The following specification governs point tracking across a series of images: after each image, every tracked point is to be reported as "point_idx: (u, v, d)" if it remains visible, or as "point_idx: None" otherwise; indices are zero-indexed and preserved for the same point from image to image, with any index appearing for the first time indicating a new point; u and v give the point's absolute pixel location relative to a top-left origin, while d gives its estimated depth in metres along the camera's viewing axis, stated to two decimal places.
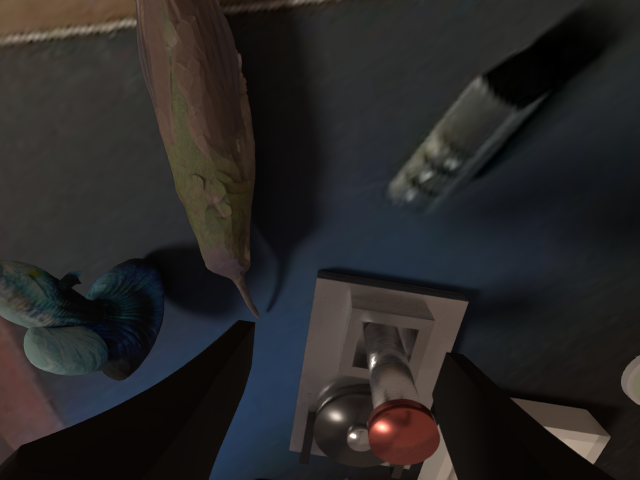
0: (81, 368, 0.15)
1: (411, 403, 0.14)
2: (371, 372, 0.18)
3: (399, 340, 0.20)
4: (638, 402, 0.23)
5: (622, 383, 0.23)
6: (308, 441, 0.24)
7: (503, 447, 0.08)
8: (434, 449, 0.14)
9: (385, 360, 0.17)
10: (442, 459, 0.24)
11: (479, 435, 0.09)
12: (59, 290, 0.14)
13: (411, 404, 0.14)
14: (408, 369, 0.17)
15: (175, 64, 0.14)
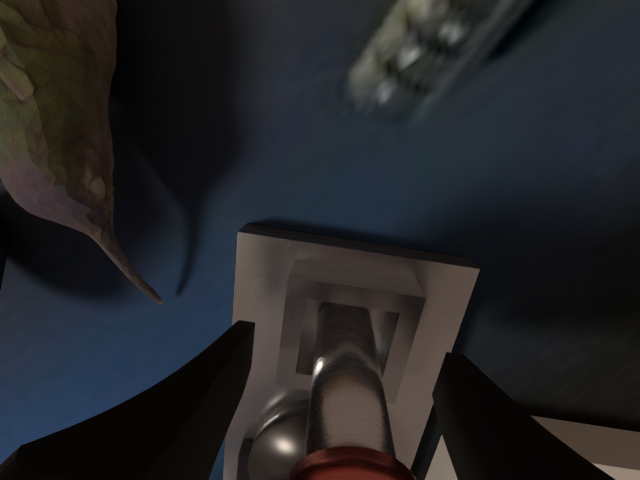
0: None
1: (367, 457, 0.07)
2: (312, 384, 0.10)
3: (367, 330, 0.12)
4: None
5: None
6: None
7: (503, 447, 0.08)
8: None
9: (336, 364, 0.10)
10: None
11: (479, 435, 0.09)
12: None
13: (366, 459, 0.07)
14: (376, 379, 0.10)
15: None
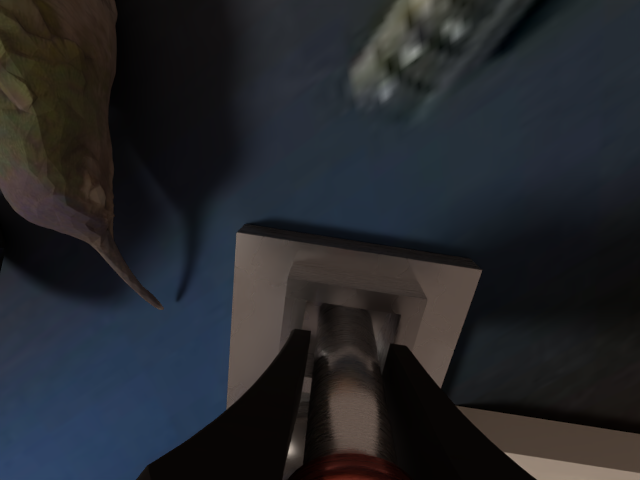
0: None
1: (369, 465, 0.06)
2: (312, 388, 0.10)
3: (368, 332, 0.12)
4: None
5: None
6: None
7: (422, 435, 0.08)
8: None
9: (336, 367, 0.10)
10: None
11: (407, 424, 0.09)
12: None
13: (368, 467, 0.06)
14: (377, 383, 0.10)
15: None
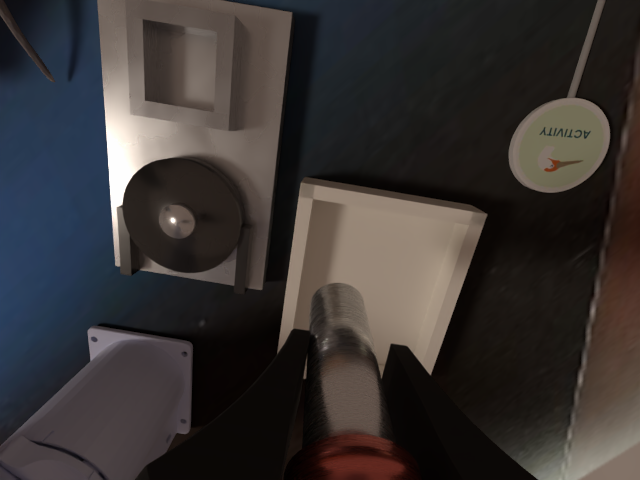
0: None
1: (361, 444, 0.07)
2: (307, 374, 0.10)
3: (359, 312, 0.12)
4: (528, 183, 0.19)
5: (509, 159, 0.19)
6: (125, 238, 0.19)
7: (423, 435, 0.08)
8: None
9: (328, 351, 0.10)
10: (290, 261, 0.19)
11: (408, 424, 0.09)
12: None
13: (360, 446, 0.06)
14: (369, 361, 0.10)
15: None
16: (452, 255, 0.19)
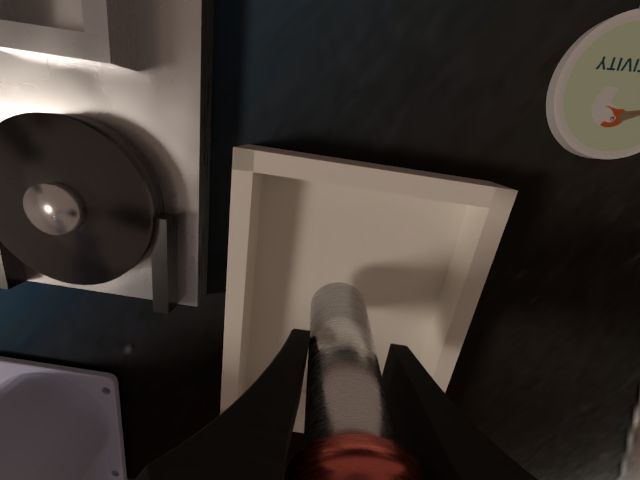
0: None
1: (361, 443, 0.07)
2: (307, 373, 0.10)
3: (359, 311, 0.12)
4: (576, 145, 0.13)
5: (547, 111, 0.13)
6: None
7: (422, 434, 0.08)
8: None
9: (329, 351, 0.10)
10: (228, 266, 0.13)
11: (408, 424, 0.09)
12: None
13: (360, 446, 0.07)
14: (370, 361, 0.10)
15: None
16: (464, 253, 0.13)
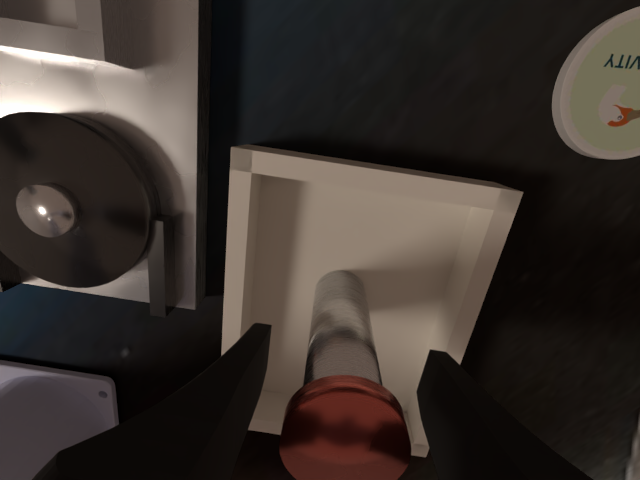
0: None
1: (350, 381, 0.08)
2: (308, 342, 0.11)
3: (358, 293, 0.13)
4: (582, 145, 0.12)
5: (553, 110, 0.12)
6: None
7: (479, 443, 0.08)
8: (404, 463, 0.08)
9: (328, 321, 0.11)
10: (226, 269, 0.13)
11: (458, 432, 0.09)
12: None
13: (349, 383, 0.08)
14: (364, 330, 0.11)
15: None
16: (467, 256, 0.13)
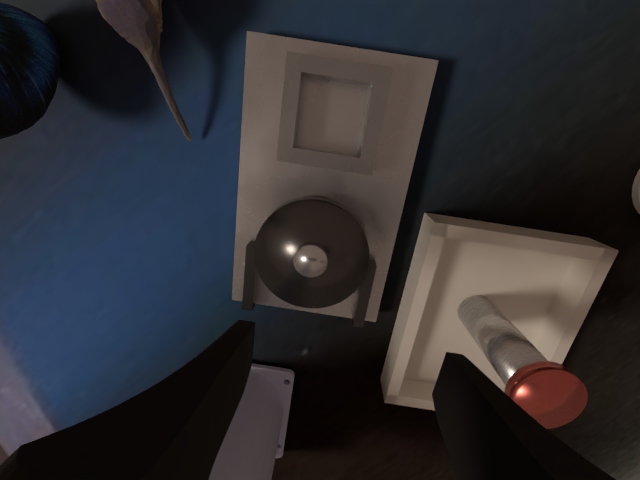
0: None
1: (552, 364, 0.14)
2: (486, 344, 0.18)
3: (501, 312, 0.20)
4: None
5: (632, 193, 0.19)
6: (250, 276, 0.20)
7: (503, 447, 0.08)
8: (581, 408, 0.14)
9: (500, 331, 0.17)
10: (413, 296, 0.20)
11: (479, 435, 0.09)
12: None
13: (552, 365, 0.14)
14: (525, 337, 0.17)
15: None
16: (573, 288, 0.20)
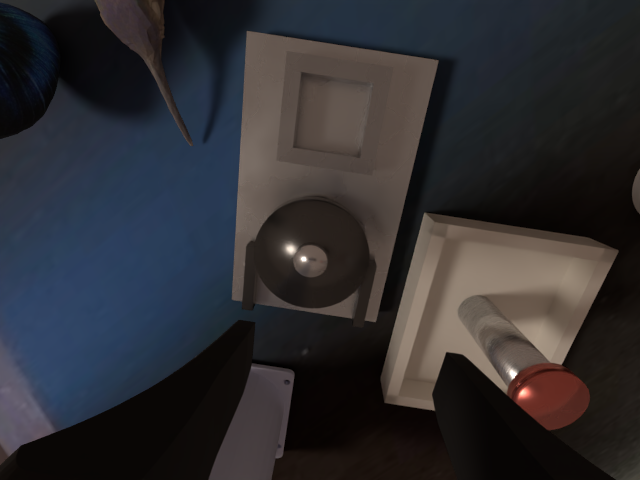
0: None
1: (555, 366, 0.14)
2: (488, 344, 0.18)
3: (502, 313, 0.20)
4: None
5: (633, 193, 0.19)
6: (250, 276, 0.20)
7: (503, 447, 0.08)
8: (583, 410, 0.14)
9: (502, 332, 0.17)
10: (413, 296, 0.20)
11: (479, 435, 0.09)
12: None
13: (555, 367, 0.14)
14: (526, 338, 0.17)
15: None
16: (573, 287, 0.20)
